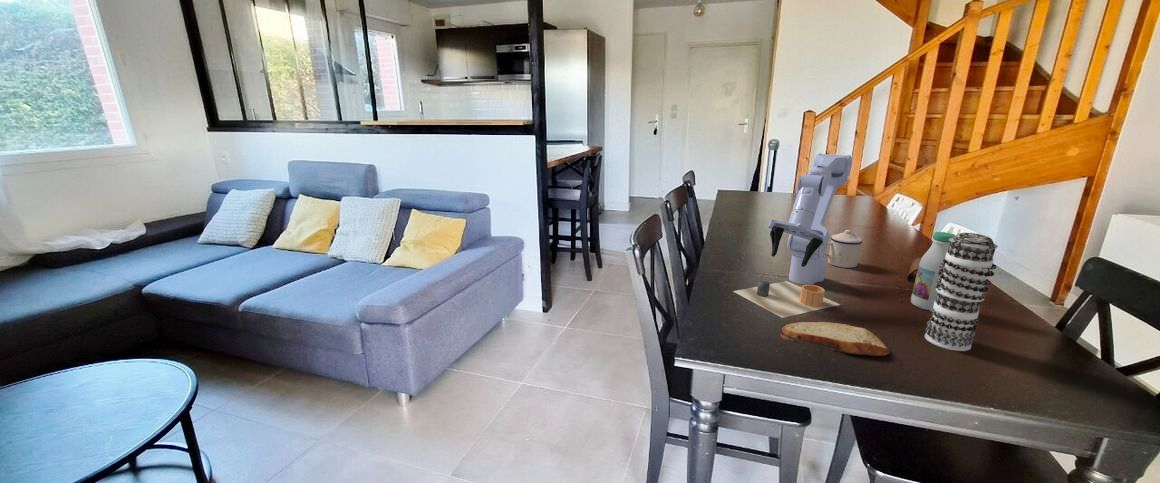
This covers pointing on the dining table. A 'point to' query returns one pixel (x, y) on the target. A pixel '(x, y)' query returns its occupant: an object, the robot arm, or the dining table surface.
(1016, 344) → the dining table surface
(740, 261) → the dining table surface
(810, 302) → the sleeve
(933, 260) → the milk bottle
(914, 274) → the sunglasses case
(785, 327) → the slice of bread
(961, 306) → the decorative candle
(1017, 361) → the dining table surface
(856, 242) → the teacup with lid
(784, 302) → the board
